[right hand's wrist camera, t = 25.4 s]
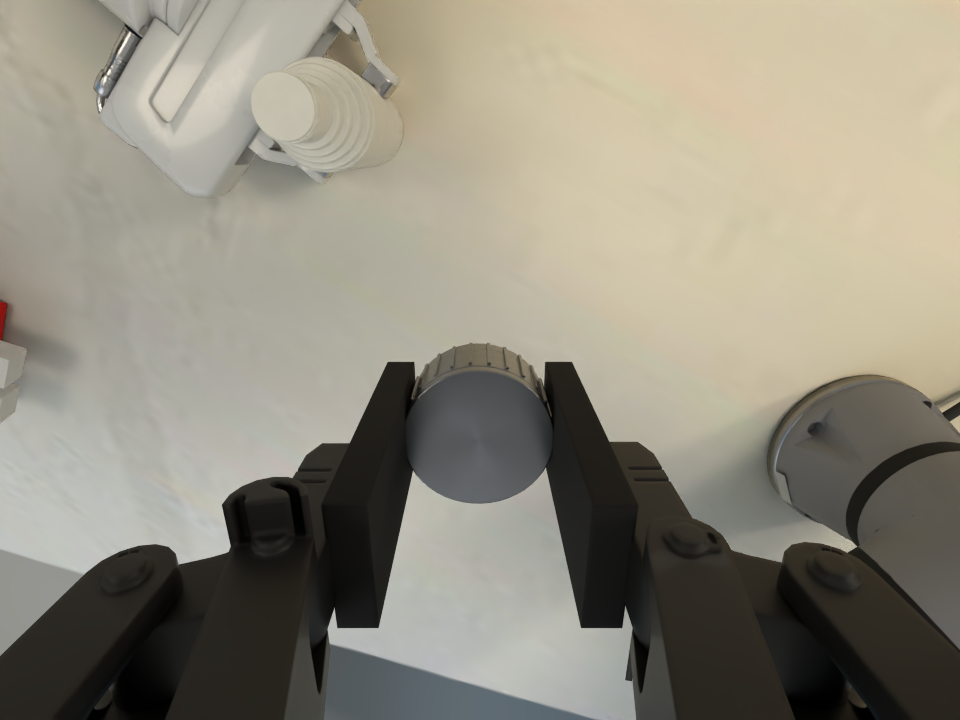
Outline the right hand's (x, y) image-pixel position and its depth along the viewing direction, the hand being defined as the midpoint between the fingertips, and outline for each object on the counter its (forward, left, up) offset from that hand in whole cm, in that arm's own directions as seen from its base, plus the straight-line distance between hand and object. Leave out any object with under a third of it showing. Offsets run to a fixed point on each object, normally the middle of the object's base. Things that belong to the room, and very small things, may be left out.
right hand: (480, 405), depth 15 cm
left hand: (+5, -9, -23) cm, 25 cm away
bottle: (+6, -10, -29) cm, 31 cm away
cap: (0, 0, +2) cm, 2 cm away
